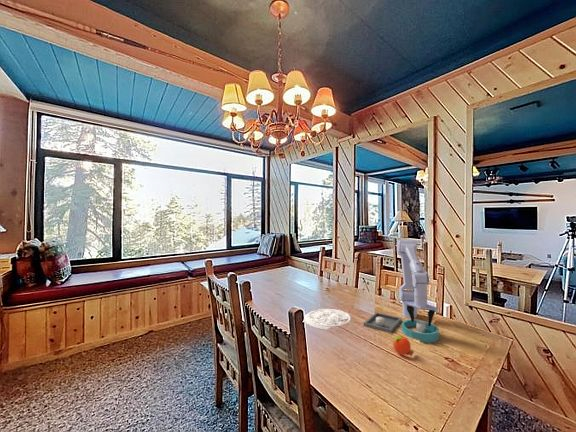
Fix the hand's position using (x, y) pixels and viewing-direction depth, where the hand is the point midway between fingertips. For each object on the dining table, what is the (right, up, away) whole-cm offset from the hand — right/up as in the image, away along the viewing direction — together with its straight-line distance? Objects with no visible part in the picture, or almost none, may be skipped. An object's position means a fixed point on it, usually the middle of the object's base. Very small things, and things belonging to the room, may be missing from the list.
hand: (421, 323), depth 129 cm
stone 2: (0, -4, 0) cm, 4 cm away
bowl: (-2, -5, -2) cm, 5 cm away
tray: (-16, -5, +9) cm, 19 cm away
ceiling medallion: (-43, -6, +19) cm, 48 cm away
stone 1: (-18, -4, +6) cm, 20 cm away
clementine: (-18, -5, -19) cm, 27 cm away
